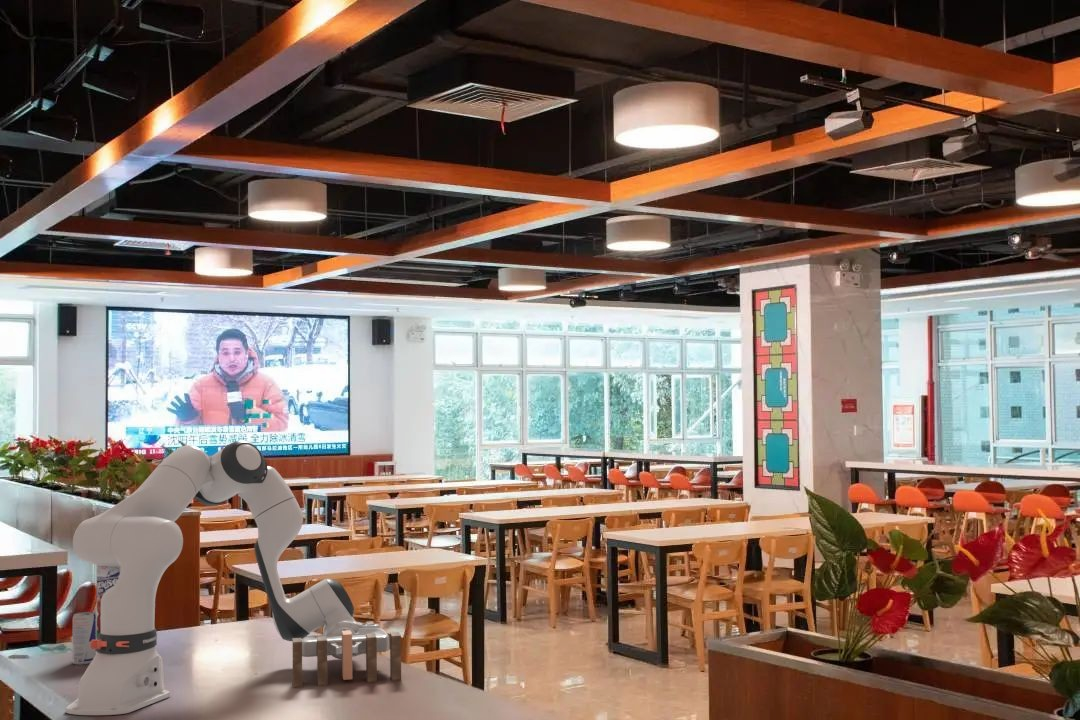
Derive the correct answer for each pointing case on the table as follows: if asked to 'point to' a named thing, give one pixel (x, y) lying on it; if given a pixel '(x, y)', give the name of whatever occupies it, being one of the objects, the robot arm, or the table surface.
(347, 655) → the domino
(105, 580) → the juice carton
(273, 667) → the table surface
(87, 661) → the energy drink
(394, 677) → the domino
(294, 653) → the domino
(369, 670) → the domino
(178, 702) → the table surface
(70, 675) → the table surface
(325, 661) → the domino
